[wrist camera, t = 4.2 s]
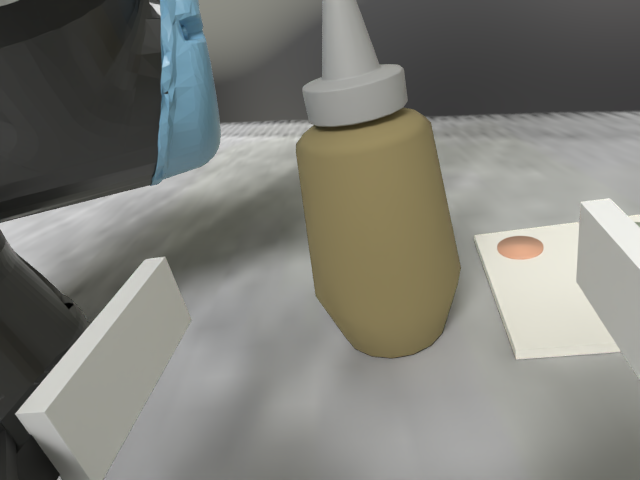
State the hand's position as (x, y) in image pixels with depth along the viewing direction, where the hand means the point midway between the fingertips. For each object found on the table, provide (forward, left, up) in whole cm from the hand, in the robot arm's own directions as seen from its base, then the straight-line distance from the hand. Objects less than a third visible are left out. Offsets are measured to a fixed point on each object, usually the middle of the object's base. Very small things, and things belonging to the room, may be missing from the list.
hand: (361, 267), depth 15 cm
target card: (+12, +12, -10) cm, 20 cm away
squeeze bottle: (0, +9, -10) cm, 14 cm away
